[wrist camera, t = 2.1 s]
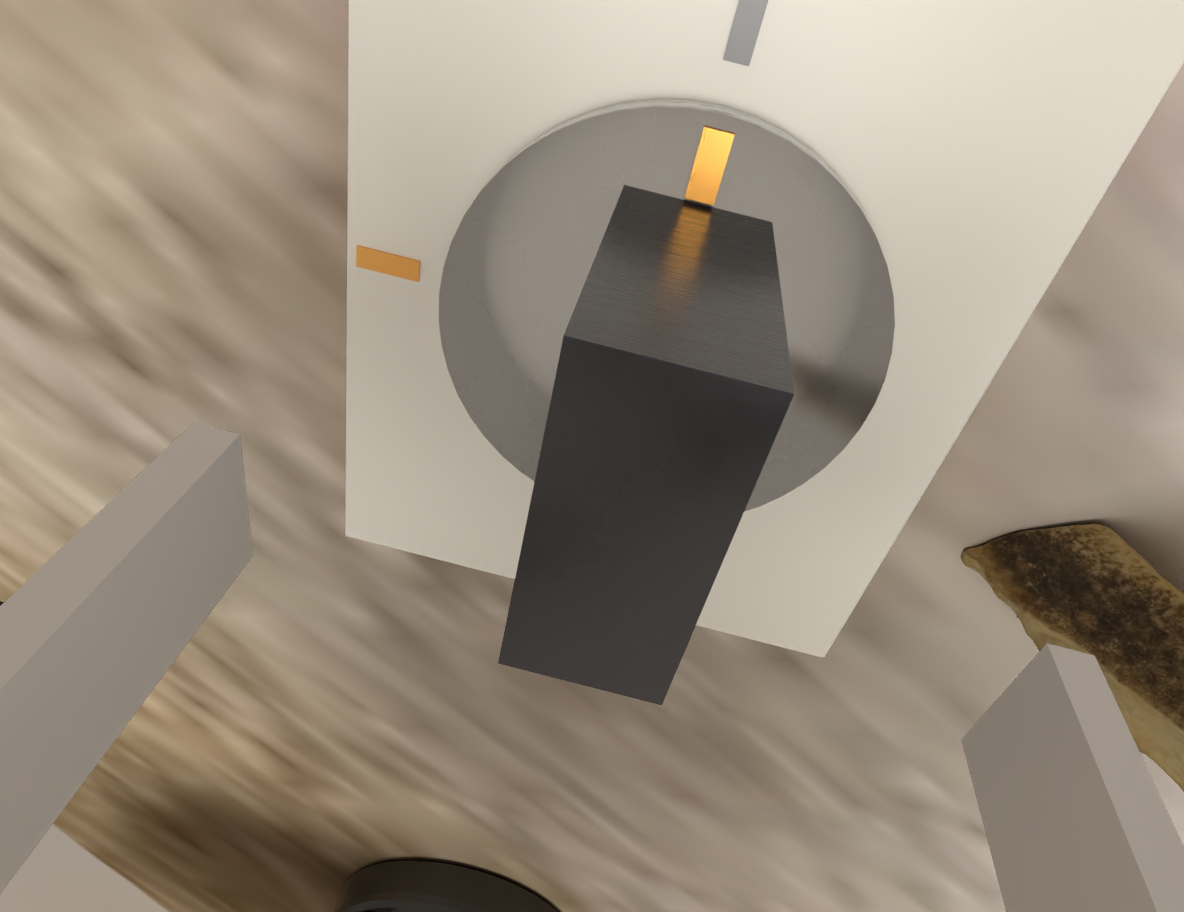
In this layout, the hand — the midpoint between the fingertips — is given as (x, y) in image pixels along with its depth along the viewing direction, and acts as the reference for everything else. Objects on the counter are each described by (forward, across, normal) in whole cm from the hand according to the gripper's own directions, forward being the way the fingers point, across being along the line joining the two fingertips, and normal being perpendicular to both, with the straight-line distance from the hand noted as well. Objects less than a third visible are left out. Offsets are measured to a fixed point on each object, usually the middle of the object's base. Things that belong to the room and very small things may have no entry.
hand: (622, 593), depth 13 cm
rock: (+12, -18, +8) cm, 23 cm away
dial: (+10, 0, 0) cm, 10 cm away
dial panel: (+12, 0, 0) cm, 12 cm away
